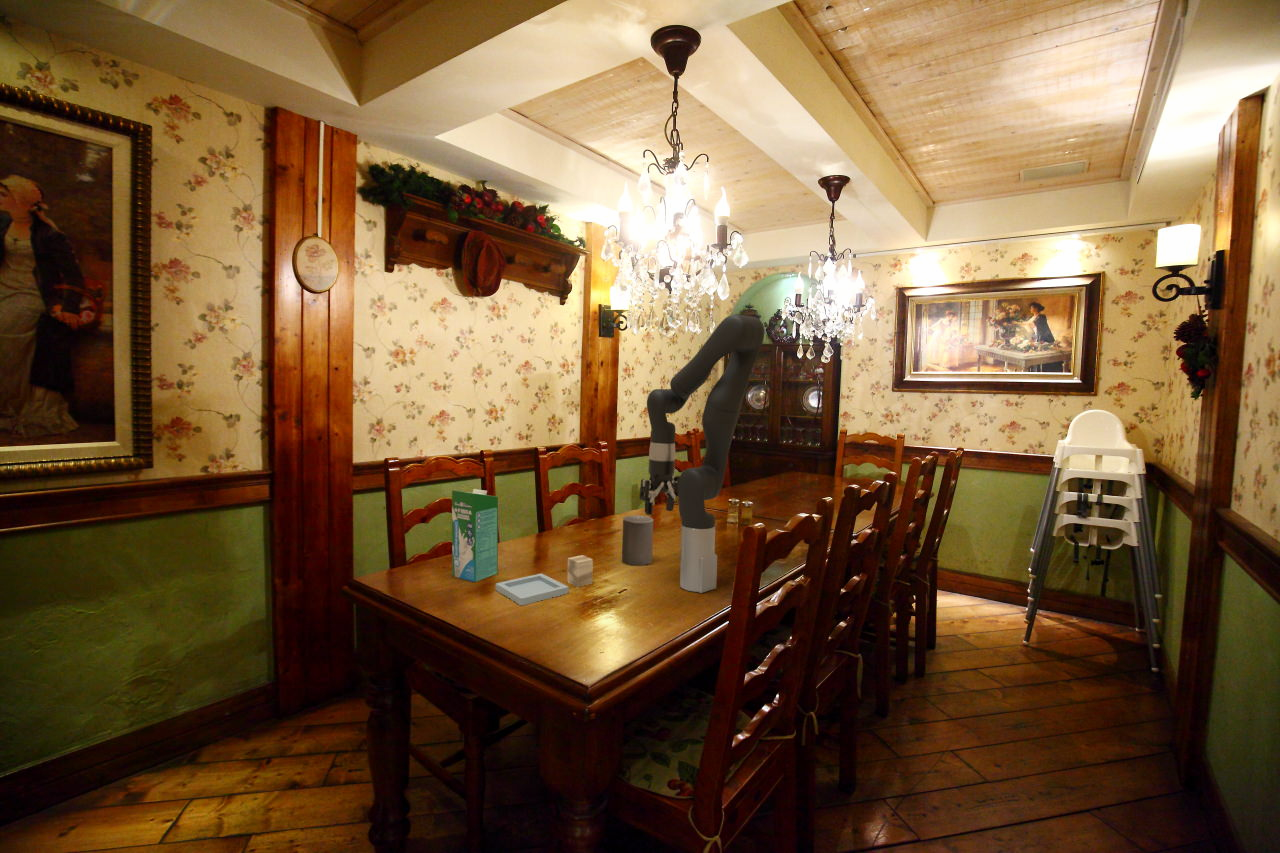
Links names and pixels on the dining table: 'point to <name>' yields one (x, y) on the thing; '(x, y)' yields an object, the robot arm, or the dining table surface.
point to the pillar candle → (637, 540)
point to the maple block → (580, 570)
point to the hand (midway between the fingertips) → (659, 512)
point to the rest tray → (531, 589)
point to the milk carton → (474, 535)
